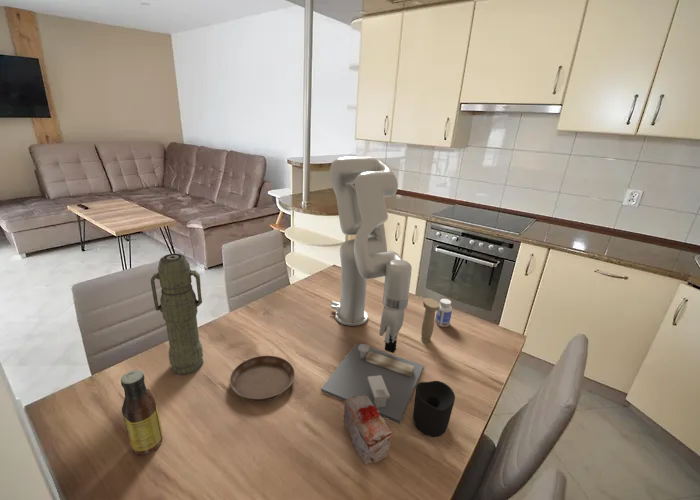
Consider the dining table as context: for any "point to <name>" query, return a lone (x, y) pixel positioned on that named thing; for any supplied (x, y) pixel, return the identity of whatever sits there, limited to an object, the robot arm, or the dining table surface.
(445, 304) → the pill bottle
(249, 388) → the plant saucer
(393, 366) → the link
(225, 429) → the dining table surface
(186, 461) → the dining table surface
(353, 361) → the board
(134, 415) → the sauce bottle
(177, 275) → the thermos
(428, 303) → the handle
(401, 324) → the robot arm
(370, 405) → the food item
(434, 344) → the dining table surface
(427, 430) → the pen holder
